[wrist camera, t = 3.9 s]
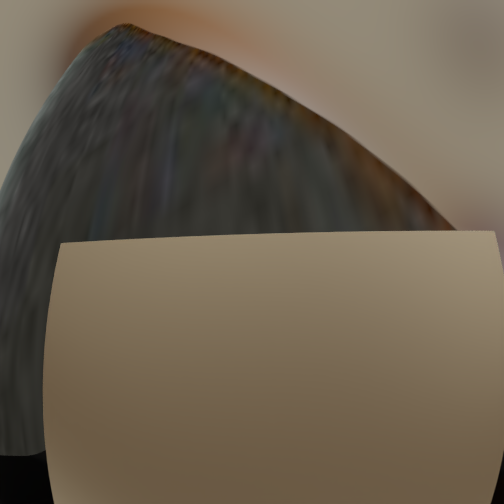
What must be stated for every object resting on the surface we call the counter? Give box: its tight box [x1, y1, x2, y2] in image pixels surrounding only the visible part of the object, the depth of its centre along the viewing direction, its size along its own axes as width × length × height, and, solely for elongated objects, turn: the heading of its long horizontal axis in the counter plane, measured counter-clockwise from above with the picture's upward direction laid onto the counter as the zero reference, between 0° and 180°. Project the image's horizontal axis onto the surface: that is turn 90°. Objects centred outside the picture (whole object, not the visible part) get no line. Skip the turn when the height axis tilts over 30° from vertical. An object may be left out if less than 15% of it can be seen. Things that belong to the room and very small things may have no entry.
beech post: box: [43, 231, 504, 504], centre depth 8 cm, size 5×5×13 cm
